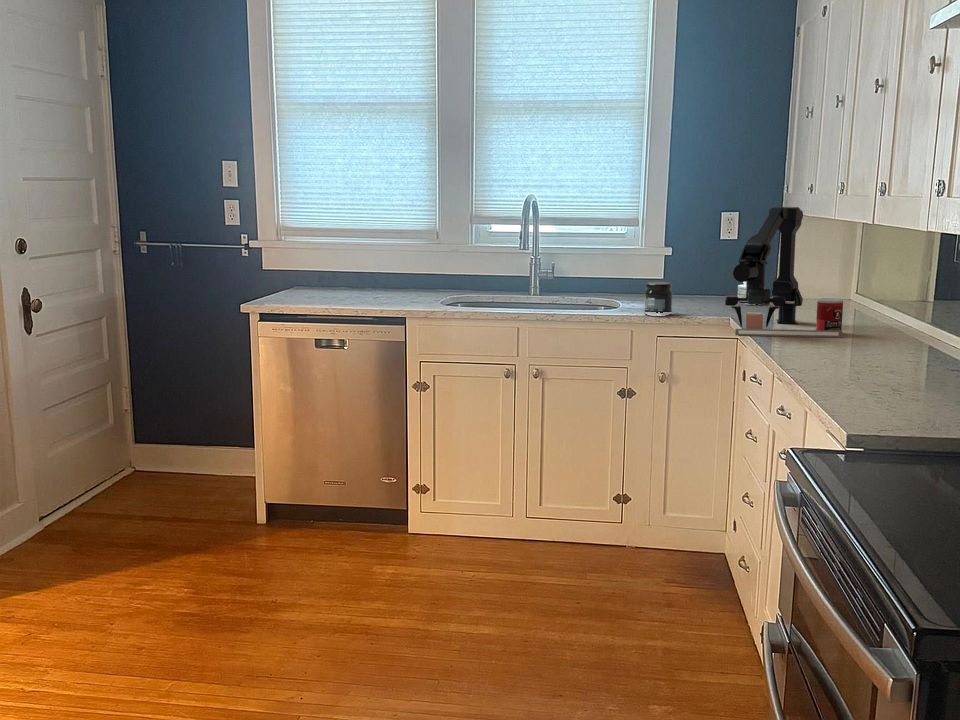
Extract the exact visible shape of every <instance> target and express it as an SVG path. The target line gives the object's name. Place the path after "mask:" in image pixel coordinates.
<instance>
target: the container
mask: <svg viewBox="0 0 960 720" xmlns="http://www.w3.org/2000/svg"><path fill="white" fill-rule="evenodd" d="M742 283H743V284H738V285H737V295H738V298H746V281H745V282H742ZM745 304H748V303H745Z"/></svg>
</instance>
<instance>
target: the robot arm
mask: <svg viewBox="0 0 960 720" xmlns="http://www.w3.org/2000/svg"><path fill="white" fill-rule="evenodd" d="M803 219H804V212H803V210H801V208H800V207H798V206H773V207H770V209H769V212H768V215H767V217H766V219H765V220H764V222H763V224H762V225H761V227H760V228H759V230H758V231H757V233H756V234H755V235H752V236H751V237H749V239H748V240H747V241H746V242H745V244H744V246H743V249H742V251H741V254H740V256H739V259H738V264H737V265H736V266H735V267H734V268H733V270H732V271H733V272H732V276H733V279H735V280H736V281H737V282H739V283H743V282H745V281H746V298H738V294H737V295H734V294H733V295H732V294H731V295H726V296H725V298H724V306H730V307H731V309H734V311H735V313H736V315H737V318H738V322H739V326H740V327H741V328H742V327H743V317H742V307H741V304H740V303H748V304H750V305H753V304H759V305H758V306H763V305H762V304H764V305H765V304H767V305H768V307H767V312H766V318H765V320H766V321H765V328H768V327H769V323H770V320H771V318H772V316H773V314H774V312H775V311H776V310H778V316H777V317H778V318H776V322H777V323H776V324H794V325H795V324H796V325H797V324H798V321H797V320H796V315H797V314H796V313H797V307H802V305H803V300H804V298H803V297H802V295H801V291H800V289H799V282H798V280H797V279H796V277H795V274H794V273H795V256H796V255H795V254H796V235H797V232H798V230H799V229H800V228H801V226H802V222H803ZM777 231H779V233H780V244H779V245H780V246H779V248H780V249H779V265H778V266H779V268H778V276H777V278H776V279H775V280H773V282H772V290H771V289H770V288H769V289H768V288H766V285H765V283H766V265H768V264H769V263H768V261H767V259H768V257H769V255H770V254H771V250H772V245H771V242H772V240H773V239H774V236H775V235H776V233H777Z"/></svg>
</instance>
